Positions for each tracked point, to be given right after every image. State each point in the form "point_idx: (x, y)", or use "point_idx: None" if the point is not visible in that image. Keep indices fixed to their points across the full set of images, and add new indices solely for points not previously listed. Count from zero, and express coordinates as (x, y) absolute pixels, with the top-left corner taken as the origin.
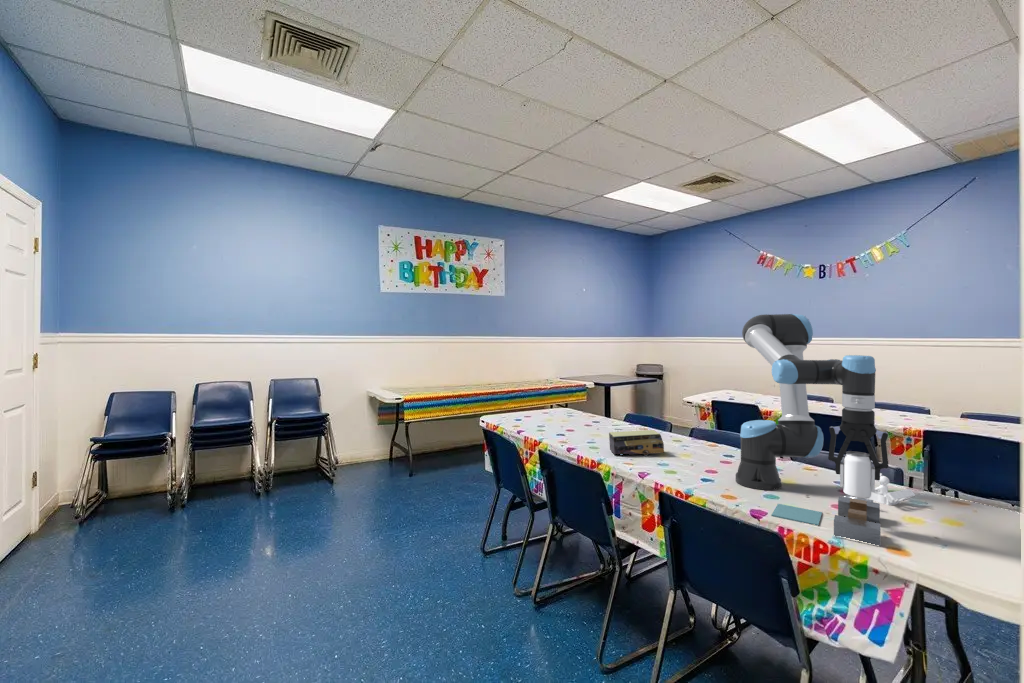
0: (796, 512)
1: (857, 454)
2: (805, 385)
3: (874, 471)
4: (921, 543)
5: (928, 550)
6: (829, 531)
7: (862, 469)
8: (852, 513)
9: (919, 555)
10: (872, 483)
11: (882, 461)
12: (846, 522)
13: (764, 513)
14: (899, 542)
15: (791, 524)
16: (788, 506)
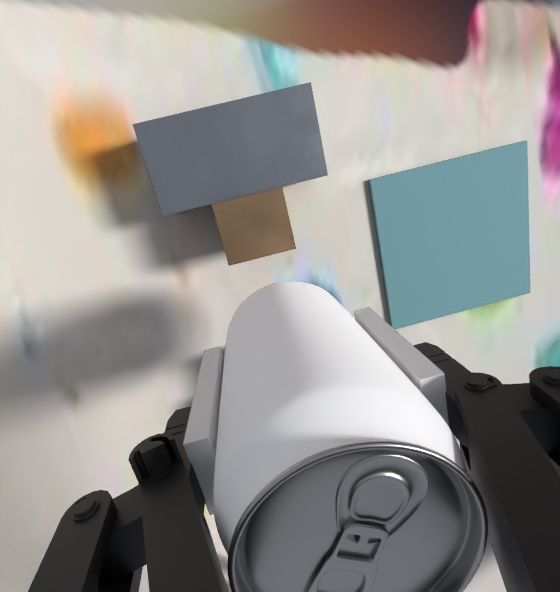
0: (459, 249)
1: (361, 557)
2: None
3: (188, 430)
4: (79, 300)
5: (39, 248)
6: (324, 152)
7: (261, 369)
8: (264, 191)
9: (37, 166)
10: (210, 373)
11: (95, 545)
12: (263, 101)
13: (548, 149)
14: (127, 247)
15: (445, 107)
16: (494, 292)
